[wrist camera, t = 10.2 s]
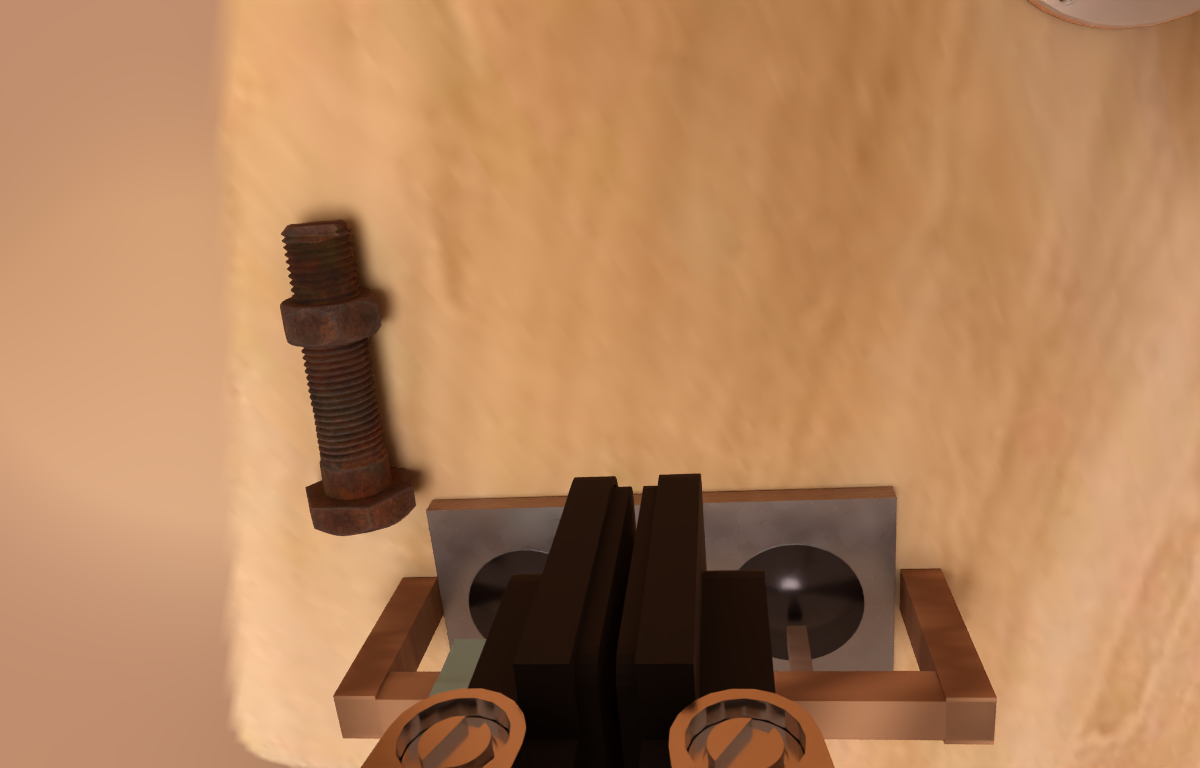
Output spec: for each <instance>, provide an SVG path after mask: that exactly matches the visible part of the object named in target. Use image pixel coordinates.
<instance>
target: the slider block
mask: <svg viewBox="0 0 1200 768" xmlns="http://www.w3.org/2000/svg"><path fill="white" fill-rule="evenodd" d="M485 642H486V639H455V641H454V643H453V645H452V648H451V650H450V652H449V654H448V657H447V659H446V661H445V663H444V666H443V668H442V670H441V673H440V675H439V677H438V679H437V682H435V684H434V686H433V688H432V690H431V693H430V695H429V697H431V696H433V695H436V694H438V693H442V692H447V691H451V690H456V689H467V688H468V686H469V683H470V681H471V678H472V675H473V673H474V670H475V668H476V665H477V662H478V660H479V657H480V655H481V652H482V650H483V647H484V644H485Z"/></svg>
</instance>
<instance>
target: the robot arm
mask: <svg viewBox="0 0 1200 768" xmlns="http://www.w3.org/2000/svg"><path fill="white" fill-rule="evenodd" d="M1029 1H1030V2H1031V3H1033V4H1034V5H1035V6H1037V7H1038V8H1039V9H1041V10H1042V11H1044V12H1047V13H1049V14H1051V15H1053V16H1056V17H1058V18H1060V19H1062V20H1065V21H1067V22H1070V23H1075V24H1080V25H1084V26H1089V27H1094V28H1118V29H1123V28H1135V27H1144V26H1153V25H1157V24H1161V23H1164V22H1168V21H1171V20H1175V19H1178V18H1182V17H1185V16H1188V15H1190V14H1192V13H1194V12H1196V11H1198V10H1200V0H1063V1H1059V0H1029ZM361 768H835V767H834V765H833V762H832V759H831V757H830V754H829V751H828V749H827V746H826V743H825V741H824V738H823V735H822V733H821V730H820V729H819V727H818V726H817V724H816V722H815V721H814V719H813V717H812V716H811V715H810V714H809V713H808V712H806V711H805V710H804V709H803V708H802V707H800V706H799V705H798V704H797V703H795V702H793V701H791V700H789V699H787V698H785V697H782V696H780V695H778V694H776V691H775V680H774V670H773V659H772V649H771V638H770V628H769V617H768V606H767V596H766V585H765V575H764V570H712V571H707V564H706V547H705V531H704V514H703V497H702V482H701V474H670V475H659V480H658V486H644V487H643V492H642V498H641V504H640V510H639V516H638V523H637V529H636V519H635V508H634V497H633V490H632V487H618V483H617V479H616V477H615V476H608V477H577V478H574V480H573V482H572V485H571V488H570V491H569V494H568V497H567V500H566V503H565V506H564V509H563V512H562V515H561V518H560V521H559V524H558V527H557V530H556V534H555V537H554V540H553V543H552V546H551V549H550V552H549V555H548V558H547V561H546V564H545V567H544V570H543V573H535V574H514V575H512V577H511V579H510V580H509V582H508V585H507V588H506V590H505V593H504V595H503V598H502V600H501V603H500V606H499V608H498V611H497V613H496V616H495V619H494V621H493V624H492V626H491V629H490V631H489V634H488V637H487V639H486V642H485V644H484V647H483V650H482V652H481V655H480V657H479V660H478V662H477V665H476V668H475V670H474V673H473V675H472V678H471V681H470V683H469V686H468V688H467V689H456V690H451V691H447V692H442V693H438V694H436V695H433V696H431V697H428V698H426V699H424V700H421V701H419V702H417V703H416V704H415V705H413V706H412V707H410V708H409V709H407V710H406V711H404V712H403V713H401V714H400V715H399V717H398V718H397V719H396V720H395V721H394V722H393V723H392V724H391V725H390V726H389V727H388V729H387V730H386V732H385V733H384V735H383V736H382V737H381V739H380V740H379V742H378V743H377V745H376V746H375V748H374V749H373V751H372V752H371V753H370V755H369V756H368V758H367V759H366V761H365V762H364V764H363V765H362V766H361Z"/></svg>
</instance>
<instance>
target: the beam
mask: <svg viewBox="0 0 1200 768" xmlns="http://www.w3.org/2000/svg"><path fill="white" fill-rule="evenodd" d="M900 611H901V614H902V617H903V620H904V623H905V626H906V630H907V633H908V636H909V639H910V642H911V645H912V648H913V651H914V654H915V657H916V660H917V663H918V666H919V669H920V671H813V666H812V660H811V653H810V647H809V641H808V634H807V628H806V626H786V627H787V648H788V656H789V665H790V671H774V680H775V691H776V694H778V695H780V696H782V697H785V698H787V699H789V700H791V701H793V702H795V703H797V704H798V705H799V706H800V707H802V708H803V709H804V710H805V711H806V712H808V713H809V714H810V715H811V716H812V717H813V719H814V721H815V722H816V724H817V726H818V727H819V729H820V730H821V733H822V735H823V738H824V739H864V740H943V741H944V744H994V732H995V717H996V702H997V697H996V695H995V693H994V690H993V688H992V686H991V683H990V681H989V679H988V676H987V674H986V672H985V670H984V667H983V665H982V663H981V660H980V658H979V656H978V653H977V651H976V649H975V647H974V644H973V642H972V640H971V637H970V635H969V633H968V631H967V628H966V626H965V624H964V621H963V619H962V617H961V614H960V612H959V610H958V608H957V605H956V603H955V601H954V598H953V596H952V594H951V591H950V589H949V587H948V585H947V582H946V580H945V578H944V575H943V573H942V571H941V569H907V570H901V574H900ZM443 614H444V613H443V607H442V602H441V596H440V590H439V584H438V579H437V577H426V578H403V579H402V580H401V582H400V584H399V585H398V587H397V589H396V591H395V592H394V594H393V596H392V597H391V599H390V601H389V602H388V604H387V606H386V607H385V609H384V611H383V613H382V614H381V616H380V618H379V619H378V621H377V623H376V624H375V626H374V628H373V629H372V631H371V633H370V635H369V636H368V638H367V640H366V641H365V643H364V645H363V646H362V648H361V650H360V652H359V653H358V655H357V657H356V658H355V660H354V662H353V663H352V665H351V667H350V668H349V670H348V672H347V674H346V675H345V677H344V679H343V680H342V682H341V684H340V685H339V687H338V689H337V690H336V692H335V694H334V696H333V697H334V701H335V706H336V710H337V714H338V719H339V723H340V727H341V732H342V736H343V738H374V739H381V737H382V736H383V735H384V733H385V732H386V730H387V729H388V727H389V726H390V725H391V724H392V723H393V722H394V721H395V720H396V719H397V718H398V717H399V715H400V714H401V713H403V712H404V711H406V710H407V709H409V708H410V707H412V706H413V705H415V704H416V703H417V702H419V701H421V700H424V699H426V698H428V697H429V695H430V693H431V690H432V688H433V686H434V684H435V682H437V679H438V677H439V675H440V673H441V672H416V671H417V668H418V666H419V664H420V662H421V660H422V658H423V656H424V654H425V652H426V650H427V648H428V646H429V643H430V641H431V639H432V637H433V635H434V633H435V631H436V629H437V627H438V625H439V623H440V621H441V618H442V616H443Z"/></svg>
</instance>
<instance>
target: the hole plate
mask: <svg viewBox="0 0 1200 768" xmlns="http://www.w3.org/2000/svg"><path fill="white" fill-rule="evenodd" d="M567 497H568V496H558V497H524V498H490V499H456V500H432V502H431V504H430V505H429V507H428V508H427V510H426V513H427V519H428V525H429V530H430V536H431V542H432V547H433V553H434V559H435V565H436V570H437V576H438V582H439V587H440V593H441V599H442V605H443V610H444V616H445V622H446V627H447V633H448V639H449V645H450V650H451V648H452V645H453V643H454V641H455V639H487V637H488V634H489V631H490V629H491V626H492V624H493V621H494V619H495V616H496V613H497V611H498V608H499V606H500V603H501V600H502V598H503V595H504V593H505V590H506V588H507V585H508V582H509V580H510V579H511V577H512V575H514V574H535V573H543V570H544V567H545V564H546V561H547V558H548V555H549V552H550V549H551V546H552V543H553V540H554V537H555V534H556V530H557V527H558V524H559V521H560V518H561V515H562V512H563V509H564V506H565V503H566V500H567ZM633 497H634V508H635V519H636V529H637V523H638V516H639V510H640V504H641V498H642V494H633ZM702 497H703V514H704V531H705V547H706V564H707V571H712V570H764V575H765V585H766V596H767V606H768V617H769V628H770V638H771V649H772V659H773V670H774V671H790V665H789V656H788V648H787V627H786V626H806V628H807V634H808V641H809V647H810V653H811V660H812V666H813V671H893V656H894V604H895V552H896V500H897V498H896V495H895V493H894V490H893V488H892V487H866V488H832V489H798V490H764V491H730V492H702Z"/></svg>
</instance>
